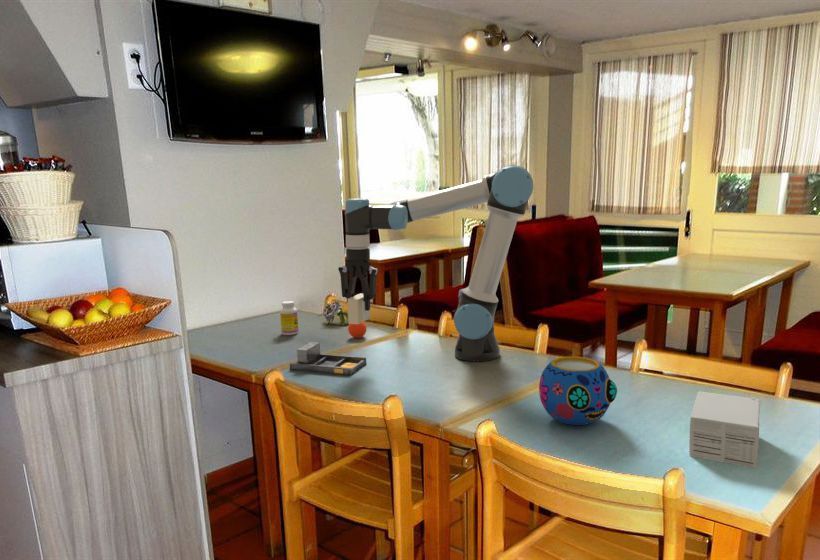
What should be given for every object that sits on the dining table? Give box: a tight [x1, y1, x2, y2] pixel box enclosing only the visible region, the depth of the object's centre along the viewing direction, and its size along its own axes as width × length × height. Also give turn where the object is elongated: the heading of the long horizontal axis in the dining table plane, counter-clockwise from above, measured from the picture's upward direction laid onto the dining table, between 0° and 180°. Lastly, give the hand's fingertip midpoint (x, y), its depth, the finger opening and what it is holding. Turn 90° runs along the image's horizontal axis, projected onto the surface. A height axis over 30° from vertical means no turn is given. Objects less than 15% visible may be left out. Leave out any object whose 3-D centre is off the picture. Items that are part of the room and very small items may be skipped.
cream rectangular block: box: [347, 292, 371, 325], centre depth 201 cm, size 4×9×8 cm, turn 158°
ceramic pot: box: [538, 356, 618, 426], centre depth 154 cm, size 18×18×15 cm
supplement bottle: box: [279, 300, 299, 336], centre depth 247 cm, size 7×7×13 cm
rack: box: [289, 341, 367, 376], centre depth 204 cm, size 22×12×7 cm, turn 70°
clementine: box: [347, 321, 367, 339], centre depth 238 cm, size 8×7×7 cm
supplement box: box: [688, 391, 761, 469], centre depth 138 cm, size 17×13×9 cm
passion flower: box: [322, 299, 348, 325], centre depth 262 cm, size 11×11×12 cm
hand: (359, 319), depth 202 cm, fingers closed on cream rectangular block, 3 cm apart
